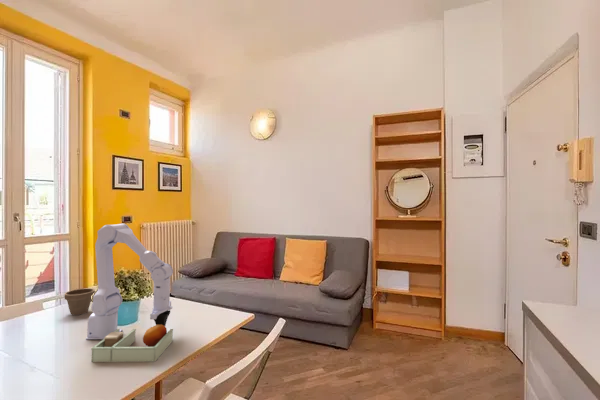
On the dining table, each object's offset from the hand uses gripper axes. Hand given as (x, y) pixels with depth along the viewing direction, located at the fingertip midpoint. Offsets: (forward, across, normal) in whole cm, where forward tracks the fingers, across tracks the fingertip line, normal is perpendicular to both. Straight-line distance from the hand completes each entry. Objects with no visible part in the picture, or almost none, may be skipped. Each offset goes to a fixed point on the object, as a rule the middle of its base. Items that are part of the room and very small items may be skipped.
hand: (160, 330), depth 114 cm
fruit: (+3, -5, 0) cm, 6 cm away
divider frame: (+3, -10, +5) cm, 11 cm away
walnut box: (+3, -11, +12) cm, 16 cm away
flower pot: (+3, +26, +49) cm, 56 cm away
